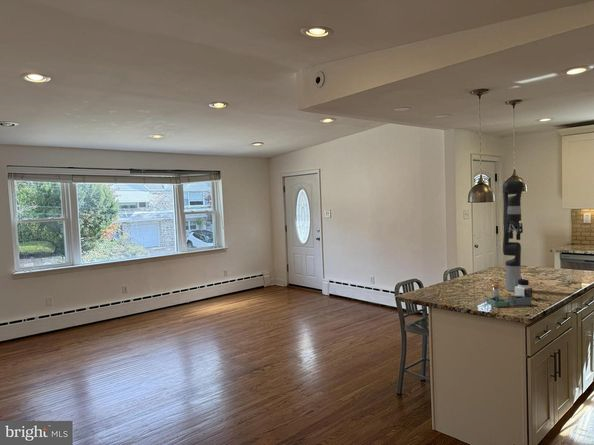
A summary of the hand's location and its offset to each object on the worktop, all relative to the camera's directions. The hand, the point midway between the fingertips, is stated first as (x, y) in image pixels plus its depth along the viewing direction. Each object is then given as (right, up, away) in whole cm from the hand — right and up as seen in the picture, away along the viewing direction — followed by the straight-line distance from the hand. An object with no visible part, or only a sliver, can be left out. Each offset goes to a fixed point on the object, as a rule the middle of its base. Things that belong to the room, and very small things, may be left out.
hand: (514, 239), depth 256 cm
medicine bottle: (+9, -38, +6) cm, 39 cm away
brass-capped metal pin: (-14, -38, -6) cm, 42 cm away
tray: (-14, -39, -8) cm, 43 cm away
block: (-1, -39, -8) cm, 40 cm away
